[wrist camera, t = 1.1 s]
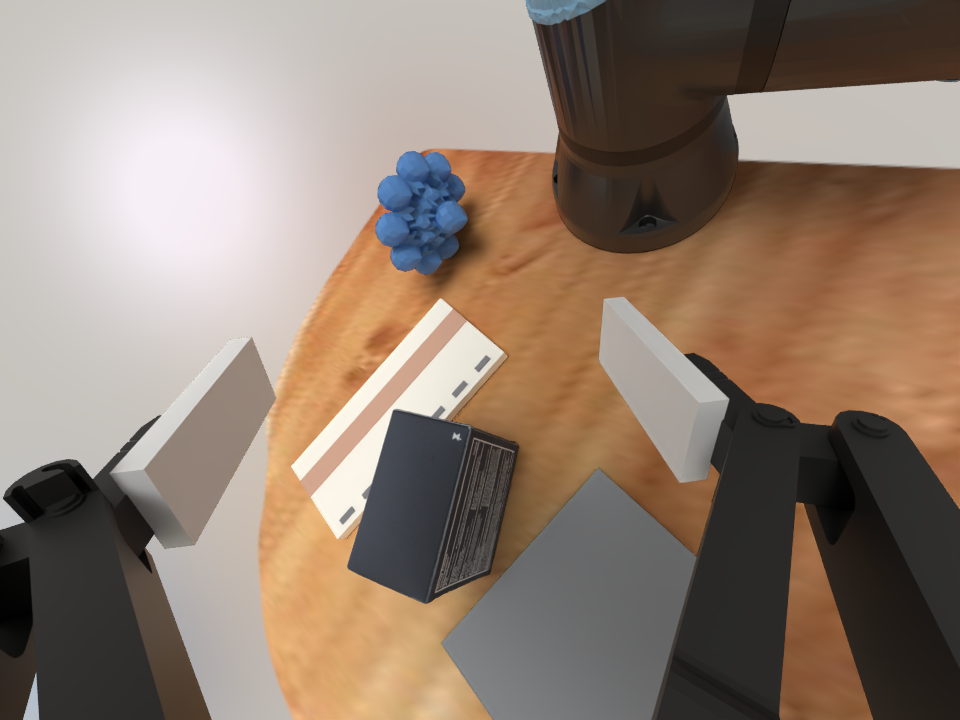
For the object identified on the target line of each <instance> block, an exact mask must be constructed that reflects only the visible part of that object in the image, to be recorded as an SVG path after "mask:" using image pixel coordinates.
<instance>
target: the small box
mask: <svg viewBox="0 0 960 720" xmlns="http://www.w3.org/2000/svg"><path fill="white" fill-rule="evenodd" d="M518 448H519V446H518V444H517V443H516V442H515V441H513V442H512V441H508V440H505V439H503V438H501V437H498V436H496V435H493V434H490V433H487V432H485V431H482V430H480V429H477V428H474V427H472V426H471V425H468V424H462V423H457V422H453V421H448V420H444V419H440V418H435V417H430V416H426V415H422V414H418V413H413V412H409V411H404V410H400V409H394V410H393V411H392V415H391V419H390V422H389V426H388V429H387V432H386V436H385V439H384V443H383V446H382V450H381V453H380V457H379V460H378V463H377V467H376V470H375V474H374V477H373V481H372V484H371V487H370V491H369V494H368V498H367V501H366V504H365V508H364V511H363V515H362V518H361V521H360V525H359V528H358V531H357V535H356V538H355V542H354V545H353V548H352V552H351V555H350V558H349V562H348V565H347V568H348V569H349V570H351V571H353V572H355V573H357V574H359V575H361V576H363V577H365V578H367V579H370V580H372V581H374V582H376V583H378V584H380V585H383V586H385V587H387V588H390V589H392V590H394V591H396V592H398V593H401V594H403V595H406V596H408V597H410V598H413V599H415V600H417V601H419V602H422V603H424V604H427V603H429V602H431V601H433V600H434V599H435V598H438V597H440V596H441V595H443V594H445V593H448V592H449V591H452V590H454V589H457V588H458V587H461V586H463V585H465V584H467V583H470V582H471V581H474V580H476V579H478V578H481V577H483V576H486V575H489V574H490V571H491V566H492V562H493V558H494V553H495V549H496V544H497V540H498V536H499V532H500V527H501V523H502V518H503V514H504V510H505V505H506V501H507V497H508V493H509V488H510V483H511V479H512V474H513V470H514V465H515V460H516V456H517V451H518Z"/></svg>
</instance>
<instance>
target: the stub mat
mask: <svg viewBox="0 0 960 720" xmlns="http://www.w3.org/2000/svg"><path fill="white" fill-rule="evenodd" d="M696 558H697V557H696V556H695V555H694V554H693V553H692V552H691V551H690V550H689V549H687V548H686V547H685V546H684V545H683V544H682V543H681V542H680V541H679V540H677V539H676V538H675V537H674V536H673V535H672V534H671V533H670V532H669V531H668V530H666V529H665V528H664V527H663V526H662V525H661V524H660V523H659V522H658V521H656V520H655V519H654V518H653V517H652V516H651V515H650V514H649V513H648V512H646V511H645V510H644V509H643V508H642V507H641V506H640V505H639V504H638V503H637V502H635V501H634V500H633V499H632V498H631V497H630V496H629V495H628V494H627V493H625V492H624V491H623V490H622V489H621V488H620V487H619V486H618V485H617V484H616V483H614V482H613V481H612V480H611V479H610V478H609V477H608V476H607V475H606V474H604V473H603V472H602V471H601V470H600V469H599V468H598V469H597V470H596V471H595V472H594V473H593V475H592V476H591V477H590V478H589V479H588V480H587V481H586V482H585V483H584V485H583V486H582V487H581V488H580V489H579V490H578V491H577V492H576V493H575V495H574V496H573V497H572V498H571V499H570V500H569V501H568V502H567V503H566V505H565V506H564V507H563V508H562V509H561V510H560V511H559V512H558V513H557V515H556V516H555V517H554V518H553V519H552V520H551V521H550V522H549V524H548V525H547V526H546V527H545V528H544V529H543V530H542V531H541V532H540V534H539V535H538V536H537V537H536V538H535V539H534V540H533V541H532V542H531V544H530V545H529V546H528V547H527V548H526V549H525V550H524V551H523V552H522V554H521V555H520V556H519V557H518V558H517V559H516V560H515V561H514V562H513V564H512V565H511V566H510V567H509V568H508V569H507V570H506V571H505V572H504V574H503V575H502V576H501V577H500V578H499V579H498V580H497V581H496V582H495V584H494V585H493V586H492V587H491V588H490V589H489V590H488V591H487V593H486V594H485V595H484V596H483V597H482V598H481V599H480V600H479V601H478V603H477V604H476V605H475V606H474V607H473V608H472V609H471V610H470V611H469V613H468V614H467V615H466V616H465V617H464V618H463V619H462V620H461V621H460V623H459V624H458V625H457V626H456V627H455V628H454V629H453V630H452V631H451V633H450V634H449V635H448V636H447V637H446V638H445V639H444V640H443V641H442V643H441V644H442V646H443V647H444V649H445V650H446V652H447V653H448V655H449V656H450V657H451V659H452V660H453V662H454V663H455V665H456V666H457V668H458V669H459V671H460V672H461V674H462V675H463V677H464V678H465V679H466V681H467V682H468V684H469V685H470V687H471V688H472V690H473V691H474V693H475V694H476V696H477V697H478V699H479V700H480V701H481V703H482V704H483V706H484V707H485V709H486V710H487V712H488V713H489V715H490V716H491V718H492V719H493V720H651V719H652V716H653V712H654V709H655V705H656V701H657V698H658V694H659V691H660V687H661V684H662V680H663V676H664V673H665V669H666V666H667V662H668V658H669V655H670V651H671V648H672V644H673V640H674V637H675V633H676V630H677V626H678V623H679V619H680V615H681V612H682V608H683V605H684V601H685V597H686V594H687V590H688V587H689V583H690V579H691V576H692V572H693V569H694V565H695V562H696Z"/></svg>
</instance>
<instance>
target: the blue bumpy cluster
mask: <svg viewBox="0 0 960 720" xmlns="http://www.w3.org/2000/svg"><path fill="white" fill-rule="evenodd" d="M396 172H397V174H398V176H397V175H393V176H387V177H386V178H385V179H383V180H382V181H381V183H380V185H379V187H378V199H379V201H380V203H381V204H382V205H383V206H384V208H385V209H387V210H390V211H393V212H390V213H385V214H384V215H382V216H381V217H380V218H379V219H378V221H377V223H376V228H375V232H376V235H377V238H378V239H379V240H380V241H381V243H382V244H383V245H386V246H389V247H393V248H392V250H391V256H390V258H391V261H392V264H393V265H394V266H395V267H396V268H397V269H398V270H401V271H404V272H406V271H410V270H413V269H414V268H415V269H416V270H417V271H418V272H419V273H421V274H424V275H428V274H432V273H434V272H435V271H436V270H438V268H439V267H440V265H441V263H442V259H447V258H450V257H452V256H453V255H454V254H455V253H456V252H457V250H458V248H459V243H458V240H457V238H456V236H455V235H454V233H456V232H458V231H459V230H461V229H462V228H463V227H464V226H465V224H466V223H467V221H468V217H467V214H466V212H465V210H464V209H463V208H462V207H461V206H460V205H459V204H458V203H457V202H458V201H459V200H460V199H461V198H462V196H463V195H464V193H465V186H464V184H463V182H462V180H461V179H460V178H459V177H458V176H456V175H454V174H450V173H451V166H450V164H449V161H448V160H447V159H446V158H445V156H444V155H442V154H440V153H438V152H433V153H429V154H428V155H426V156H425V157H423V155H422V154H420V153H418V152H415V151H411V152H406V153H405V154H403V155H402V156H401V157H400V158H399V160H398V162H397V168H396Z"/></svg>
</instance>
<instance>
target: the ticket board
mask: <svg viewBox="0 0 960 720" xmlns="http://www.w3.org/2000/svg"><path fill="white" fill-rule="evenodd" d="M507 357H508V356H507V355H506V354H505V353H504V352H503V351H502V350H501V349H500V348H498V347H497V346H496V345H495V344H494V343H493V342H491V341H490V340H489V339H488V338H487V337H486V336H484V335H483V334H482V333H481V332H480V331H479V330H477V329H476V328H475V327H474V326H473V325H472V324H470V323H469V322H468V321H467V320H466V319H465V318H463V317H462V316H461V315H460V314H459V313H458V312H456V311H455V310H454V309H453V308H452V307H451V306H449V305H448V304H447V303H446V302H445V301H443V300H442V299H441V298H440V299H439V300H438V302H437V303H436V304H435V305H434V306H433V307H432V308H431V309H430V311H429V312H428V313H427V314H426V315H425V316H424V317H423V318H422V320H421V321H420V322H419V323H418V324H417V325H416V326H415V327H414V329H413V330H412V331H411V332H410V333H409V334H408V335H407V336H406V338H405V339H404V340H403V341H402V342H401V343H400V344H399V345H398V347H397V348H396V349H395V350H394V351H393V352H392V353H391V355H390V356H389V357H388V358H387V359H386V360H385V361H384V362H383V364H382V365H381V366H380V367H379V368H378V369H377V370H376V371H375V373H374V374H373V375H372V376H371V377H370V378H369V379H368V380H367V382H366V383H365V384H364V385H363V386H362V387H361V388H360V389H359V391H358V392H357V393H356V394H355V395H354V396H353V397H352V398H351V400H350V401H349V402H348V403H347V404H346V405H345V406H344V407H343V409H342V410H341V411H340V412H339V413H338V414H337V415H336V417H335V418H334V419H333V420H332V421H331V422H330V423H329V424H328V426H327V427H326V428H325V429H324V430H323V431H322V432H321V433H320V435H319V436H318V437H317V438H316V439H315V440H314V441H313V442H312V444H311V445H310V446H309V447H308V448H307V449H306V450H305V451H304V453H303V454H302V455H301V456H300V457H299V458H298V459H297V460H296V462H295V463H294V464H293V465H292V466H291V467H292V468H293V470H294V472H295V473H296V475H297V476H298V478H299V479H300V482H301V484H302V485H303V487H304V488H305V490H306V492H307V493H308V495H309V496H310V497H311V498H312V500H313V501H314V503H315V505H316V506H317V508H318V509H319V511H320V512H321V514H322V516H323V517H324V519H325V520H326V522H327V523H328V525H329V527H330V528H331V530H332V531H333V533H334V534H335V536H336V538H337V539H344V538H347V537H348V536H349V535H350V533H351V532H352V531H353V530H354V529H355V528H356V527H357V526H358V524H359V523H360V521H361V518H362V515H363V511H364V508H365V504H366V501H367V498H368V494H369V491H370V487H371V484H372V481H373V477H374V474H375V470H376V467H377V463H378V460H379V457H380V453H381V450H382V446H383V443H384V439H385V436H386V432H387V429H388V426H389V422H390V419H391V415H392V411H393V410H394V409H400V410H404V411H409V412H413V413H418V414H422V415H426V416H430V417H435V418H440V419H444V420H448V421H451V420H452V419H453V418H454V417H455V416H456V414H457V413H458V412H459V411H460V410H461V409H462V408H463V407H464V406H465V404H466V403H467V402H468V401H469V400H470V399H471V398H472V397H473V395H474V394H475V393H476V392H477V391H478V390H479V389H480V388H481V386H482V385H483V384H484V383H485V382H486V381H487V380H488V379H489V377H490V376H491V375H492V374H493V373H494V372H495V371H496V370H497V369H498V367H499V366H500V365H501V364H502V363H503V362H504V361H505V360H506V358H507Z"/></svg>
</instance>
